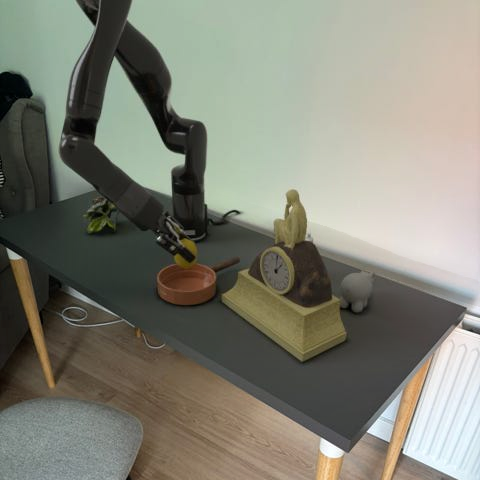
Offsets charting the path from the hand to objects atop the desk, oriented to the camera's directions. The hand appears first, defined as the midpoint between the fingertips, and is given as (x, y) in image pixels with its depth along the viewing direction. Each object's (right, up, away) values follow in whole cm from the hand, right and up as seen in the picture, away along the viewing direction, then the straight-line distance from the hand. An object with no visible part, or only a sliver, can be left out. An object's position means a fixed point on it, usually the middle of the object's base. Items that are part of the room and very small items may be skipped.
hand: (193, 253), depth 121 cm
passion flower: (-29, +12, +34) cm, 46 cm away
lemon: (-2, -4, +2) cm, 5 cm away
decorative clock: (+20, -16, -4) cm, 26 cm away
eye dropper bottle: (+28, -4, +14) cm, 31 cm away
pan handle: (+7, -2, +11) cm, 13 cm away
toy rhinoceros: (+40, -11, +4) cm, 41 cm away
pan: (-2, -8, +5) cm, 10 cm away
